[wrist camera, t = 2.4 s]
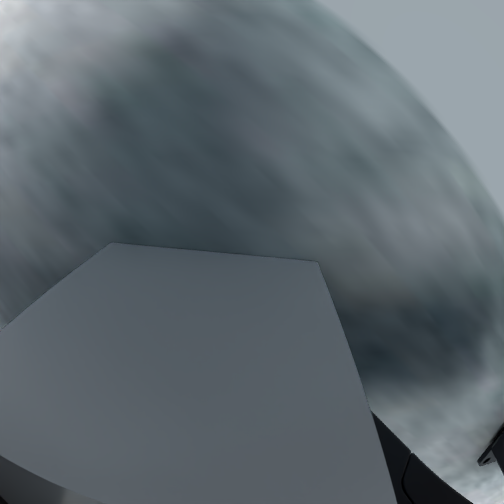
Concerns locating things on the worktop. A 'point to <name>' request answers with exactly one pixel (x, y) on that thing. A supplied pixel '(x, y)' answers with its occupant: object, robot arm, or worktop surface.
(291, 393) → the grey block
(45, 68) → the worktop surface
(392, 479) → the robot arm
